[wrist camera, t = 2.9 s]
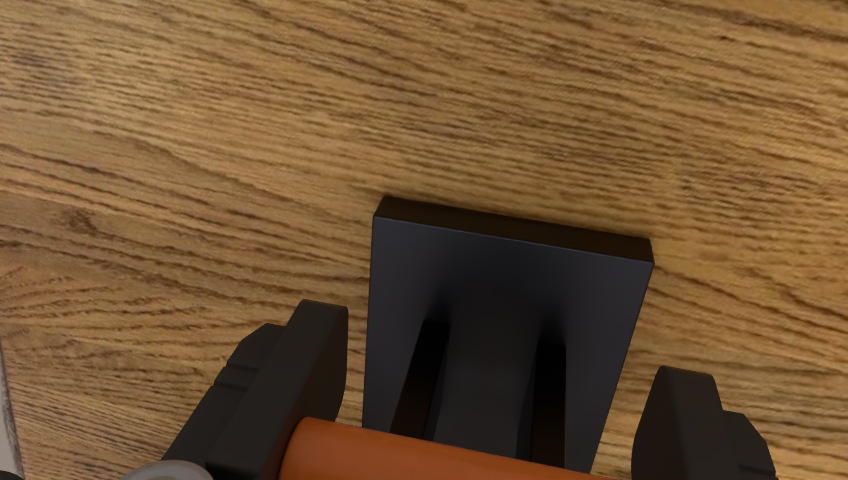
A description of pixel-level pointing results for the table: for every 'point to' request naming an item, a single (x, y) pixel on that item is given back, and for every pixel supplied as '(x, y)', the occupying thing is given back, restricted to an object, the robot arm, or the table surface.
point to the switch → (398, 458)
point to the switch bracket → (498, 330)
